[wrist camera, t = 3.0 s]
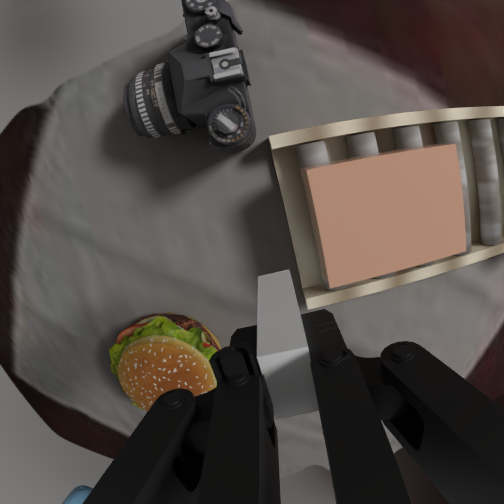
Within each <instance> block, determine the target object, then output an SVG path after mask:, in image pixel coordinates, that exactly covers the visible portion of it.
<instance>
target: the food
mask: <svg viewBox="0 0 504 504" xmlns="http://www.w3.org/2000/svg"><path fill="white" fill-rule="evenodd" d="M220 349H221V346H220V344H219V342H218V340H217V338H216V337H215V336H214V335H213V334H212V333H211V332H210V331H209V330H208V329H207V328H206V327H205V326H204V325H202V324H201V323H199V322H197V321H196V320H194V319H193V318H191V317H186V316H184V315H177V314H173V313H162V314H152V315H149V316H146V317H143V318H141V319H139V320H138V321H137V322H135V323H134V324H133V325H131V326H130V327H129V328H127V329H125V330H123V331H122V332H121V333H120V334H119V335H118V338H117V342H116V344H114V345H113V346H112V347H111V349H110V348H109V353H110V357H111V361H112V362H111V371H112V373H113V374H115V375H116V376H117V380H118V381H119V383H120V384H121V386H122V391H123V392H125V393H126V394H127V395H128V397H129V398H130V399H131V400H132V402H133V403H132V405H135V406H137V407H139V408H140V409H142V410H144V411H146V412H148V411H149V409H150V408H151V406H152V405H153V403H154V402H155V401H156V399H157V398H158V397H159V396H160V395H162V394H164V393H165V392H167V391H170V390H173V389H179V388H183V389H188V390H189V391H191V392H192V393H193V395H194V396H197V395H200V394H203V393H206V392H208V391H210V390H213V389H214V388H216V386H217V380H216V378H215V375H214V373H213V370H212V368H211V365H210V363H209V360H210V358H211V356H212V355H213V354H214V353H216V352H217V351H218V350H220Z"/></svg>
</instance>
